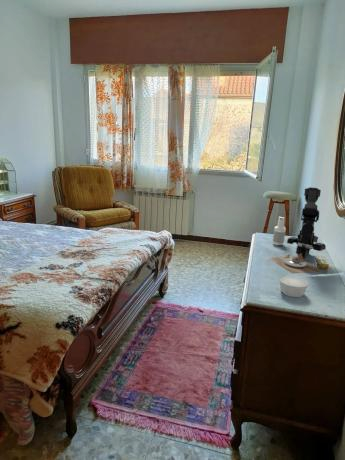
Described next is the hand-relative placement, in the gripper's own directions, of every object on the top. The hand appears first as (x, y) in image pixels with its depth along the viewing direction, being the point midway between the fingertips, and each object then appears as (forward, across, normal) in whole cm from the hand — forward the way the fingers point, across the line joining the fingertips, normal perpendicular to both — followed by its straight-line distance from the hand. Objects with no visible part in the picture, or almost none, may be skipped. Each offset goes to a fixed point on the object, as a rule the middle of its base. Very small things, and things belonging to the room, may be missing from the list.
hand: (304, 259), depth 171 cm
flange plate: (+2, +2, +5) cm, 5 cm away
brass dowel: (+2, +8, +3) cm, 9 cm away
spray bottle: (+2, +29, -20) cm, 35 cm away
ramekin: (+4, -16, +36) cm, 40 cm away
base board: (+3, +1, +6) cm, 7 cm away
